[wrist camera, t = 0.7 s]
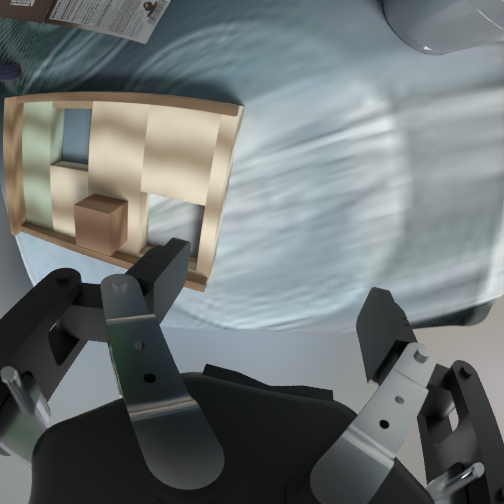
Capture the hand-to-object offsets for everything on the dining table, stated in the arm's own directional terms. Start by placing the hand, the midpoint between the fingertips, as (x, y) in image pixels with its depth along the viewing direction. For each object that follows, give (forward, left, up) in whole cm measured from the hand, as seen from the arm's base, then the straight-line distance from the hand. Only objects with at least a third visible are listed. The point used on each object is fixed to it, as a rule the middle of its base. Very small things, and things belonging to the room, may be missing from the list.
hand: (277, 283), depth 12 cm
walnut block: (+8, -19, -17) cm, 27 cm away
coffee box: (-16, -22, -20) cm, 33 cm away
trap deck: (+4, -22, -19) cm, 29 cm away
